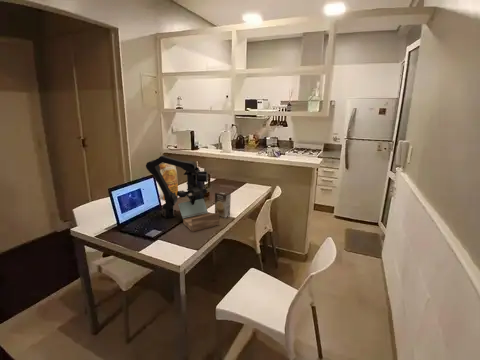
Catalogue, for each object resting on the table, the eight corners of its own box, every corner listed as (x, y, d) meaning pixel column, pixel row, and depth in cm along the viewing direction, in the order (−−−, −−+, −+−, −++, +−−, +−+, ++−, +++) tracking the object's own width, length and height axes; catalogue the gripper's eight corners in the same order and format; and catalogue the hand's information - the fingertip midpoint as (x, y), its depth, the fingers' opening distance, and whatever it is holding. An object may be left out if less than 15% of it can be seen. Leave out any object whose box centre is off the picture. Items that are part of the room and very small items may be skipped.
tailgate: (182, 219, 171) (177, 204, 174) (206, 213, 181) (202, 199, 183) (183, 218, 169) (178, 203, 172) (208, 212, 179) (203, 198, 182)
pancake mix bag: (157, 199, 211) (155, 164, 203) (175, 193, 226) (174, 160, 218) (163, 201, 207) (161, 165, 200) (181, 194, 223) (180, 161, 215)
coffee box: (214, 215, 184) (214, 192, 180) (219, 212, 189) (219, 190, 185) (225, 218, 179) (225, 195, 175) (230, 214, 185) (231, 192, 180)
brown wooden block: (183, 223, 170) (182, 211, 168) (208, 217, 180) (208, 206, 178) (192, 231, 159) (192, 219, 157) (219, 224, 169) (219, 213, 167)
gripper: (182, 186, 161) (184, 211, 165) (210, 182, 171) (211, 205, 175) (176, 182, 170) (177, 206, 174) (202, 178, 180) (203, 200, 184)
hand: (192, 204), depth 176 cm, fingers closed, pressing on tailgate
